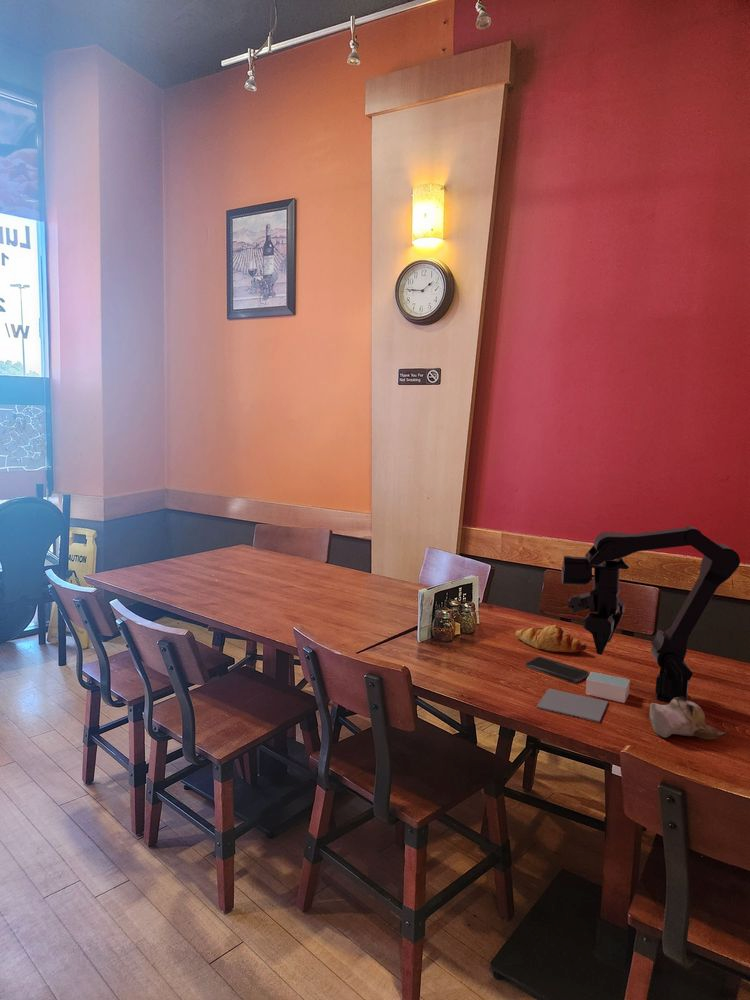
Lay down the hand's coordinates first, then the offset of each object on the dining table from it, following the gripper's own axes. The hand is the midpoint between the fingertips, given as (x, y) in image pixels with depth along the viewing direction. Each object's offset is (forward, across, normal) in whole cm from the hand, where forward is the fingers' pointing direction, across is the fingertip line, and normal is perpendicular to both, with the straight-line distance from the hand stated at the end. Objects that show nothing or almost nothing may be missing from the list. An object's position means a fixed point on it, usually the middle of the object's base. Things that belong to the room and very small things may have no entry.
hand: (603, 647), depth 159 cm
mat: (+11, +12, -4) cm, 16 cm away
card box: (+11, +1, +2) cm, 12 cm away
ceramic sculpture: (+12, +13, +19) cm, 26 cm away
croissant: (+11, -23, -19) cm, 32 cm away
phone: (+11, -7, -13) cm, 18 cm away
